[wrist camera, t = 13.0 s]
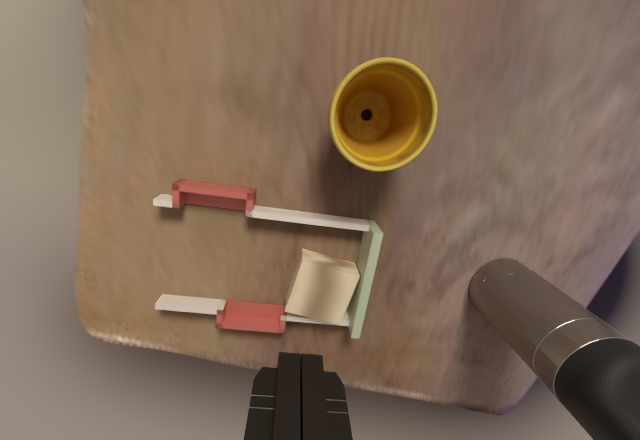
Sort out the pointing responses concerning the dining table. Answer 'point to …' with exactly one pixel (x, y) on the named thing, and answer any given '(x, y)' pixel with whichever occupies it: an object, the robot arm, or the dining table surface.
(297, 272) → the birch block
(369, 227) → the trap lane
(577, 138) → the dining table surface
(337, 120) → the plant pot
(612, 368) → the robot arm
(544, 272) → the dining table surface
